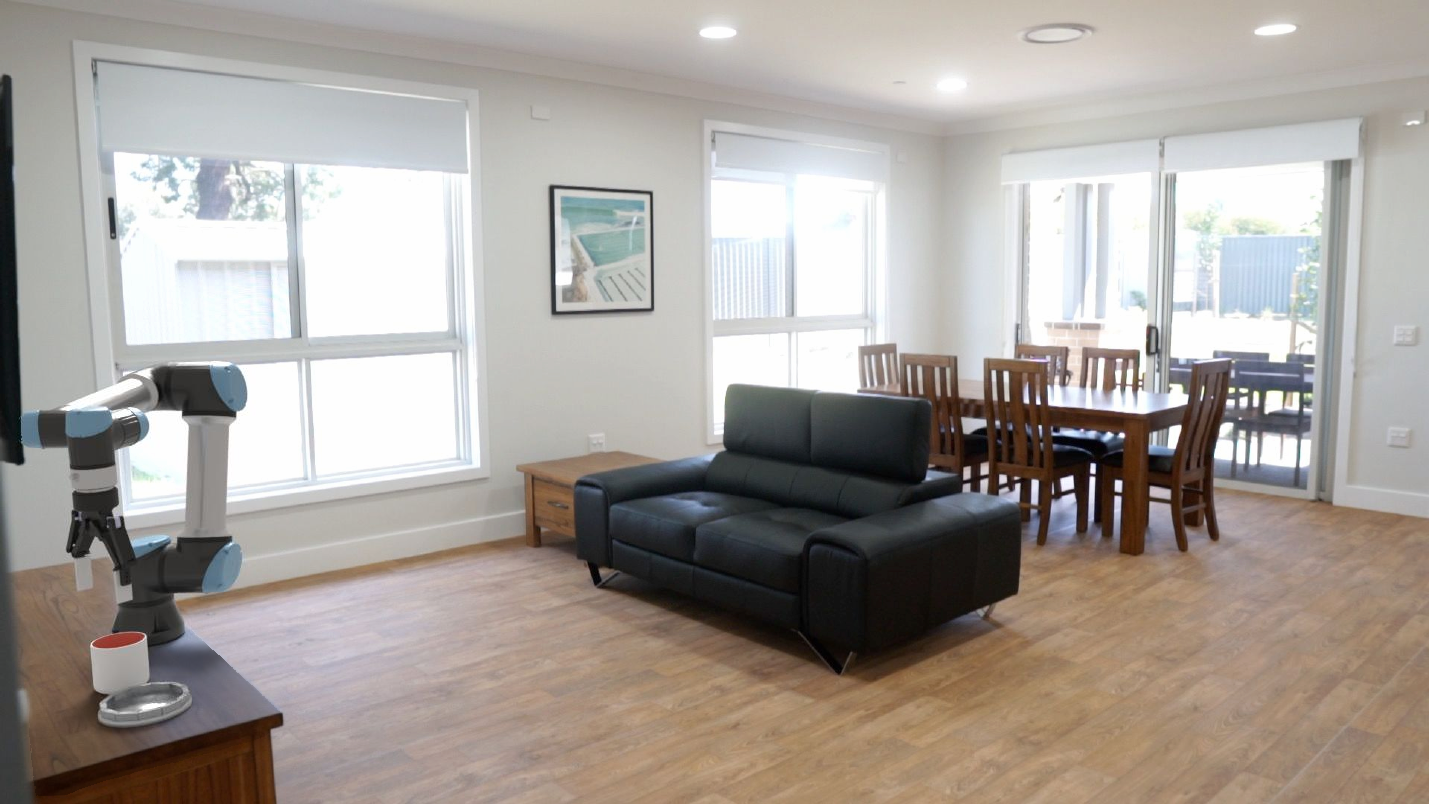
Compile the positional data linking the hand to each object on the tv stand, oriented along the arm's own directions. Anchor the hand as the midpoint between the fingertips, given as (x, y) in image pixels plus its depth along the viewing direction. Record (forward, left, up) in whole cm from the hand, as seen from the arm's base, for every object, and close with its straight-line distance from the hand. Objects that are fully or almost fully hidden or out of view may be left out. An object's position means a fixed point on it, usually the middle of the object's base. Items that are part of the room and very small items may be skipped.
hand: (104, 595), depth 197 cm
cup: (-10, -3, -23) cm, 25 cm away
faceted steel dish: (+2, +7, -23) cm, 24 cm away
